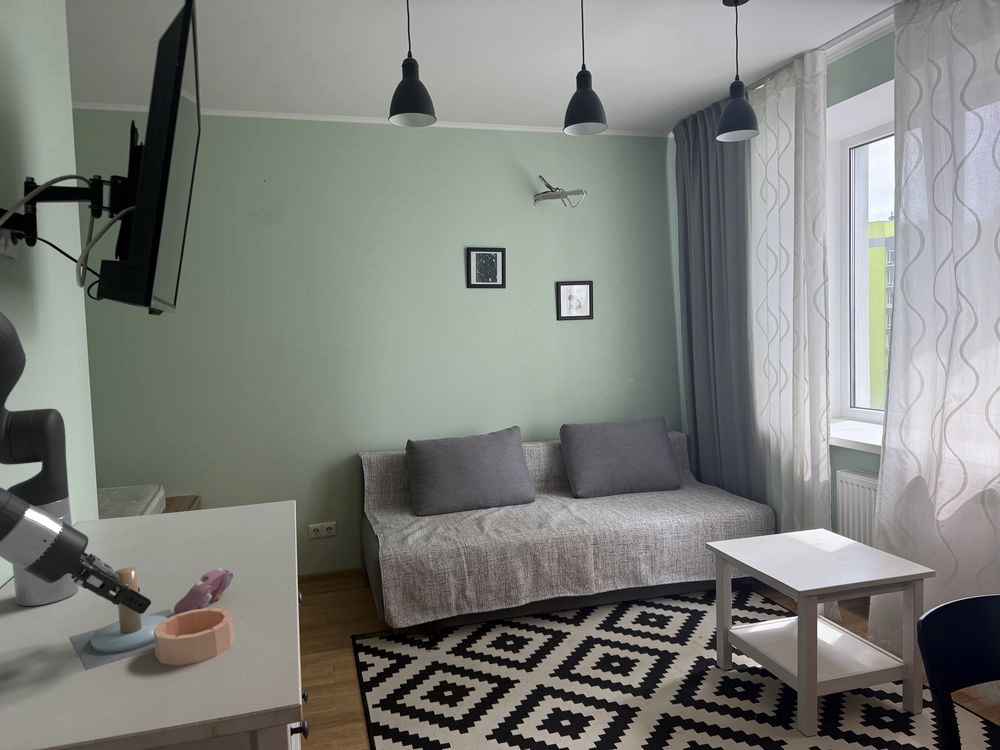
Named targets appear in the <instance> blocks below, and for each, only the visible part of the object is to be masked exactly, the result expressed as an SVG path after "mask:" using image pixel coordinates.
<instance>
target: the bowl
mask: <svg viewBox="0 0 1000 750" xmlns="http://www.w3.org/2000/svg"><path fill="white" fill-rule="evenodd" d="M153 633H154V644H155V649H154V653H155V658H156V659H157V660H158V661H159V663H160V664H165V665H171V666H181V665H182V666H183V665H190V664H198V663H201V662H204V661H207V660H209V659H212V658H215V657H218V656H220V655H221V654H222V653H223V654H224V652H225V651H227V650H229V649H231V648H232V645H233V644H234V642H235V637H236V636H235V625H234V615H233V613H231V612H230V611H229V610H228V609H226V608H218V607H205V608H204V609H198V608H196V609H195V610H191V611H187V612H184V613H180V614H177V615H175V614H174V616H172V617H170V618H168V619H166V620H164V621H162V622H160V623H159V624H158V625H157V627H156V628H155V629H154V631H153Z"/></svg>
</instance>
